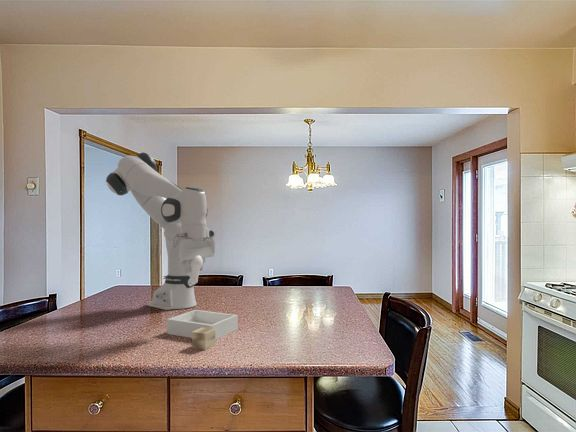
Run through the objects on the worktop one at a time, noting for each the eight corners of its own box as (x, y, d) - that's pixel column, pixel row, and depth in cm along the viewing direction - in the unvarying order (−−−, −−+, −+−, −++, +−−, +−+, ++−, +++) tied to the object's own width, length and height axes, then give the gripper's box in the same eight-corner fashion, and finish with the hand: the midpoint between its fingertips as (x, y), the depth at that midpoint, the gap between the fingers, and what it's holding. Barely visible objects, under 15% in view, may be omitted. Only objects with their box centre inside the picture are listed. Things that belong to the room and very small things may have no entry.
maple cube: (192, 348, 116) (192, 331, 116) (202, 343, 120) (202, 327, 120) (205, 350, 114) (205, 333, 114) (215, 345, 118) (215, 329, 118)
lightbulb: (191, 282, 138) (191, 252, 138) (206, 283, 136) (206, 252, 136) (181, 285, 133) (181, 254, 132) (196, 286, 131) (196, 254, 131)
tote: (166, 333, 130) (166, 319, 130) (195, 322, 143) (195, 309, 143) (212, 341, 122) (212, 325, 122) (237, 329, 135) (237, 315, 135)
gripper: (181, 234, 124) (180, 276, 124) (218, 232, 142) (218, 268, 142) (166, 233, 126) (166, 275, 126) (204, 231, 145) (204, 267, 145)
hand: (193, 271), depth 134 cm, fingers closed on lightbulb, 5 cm apart
